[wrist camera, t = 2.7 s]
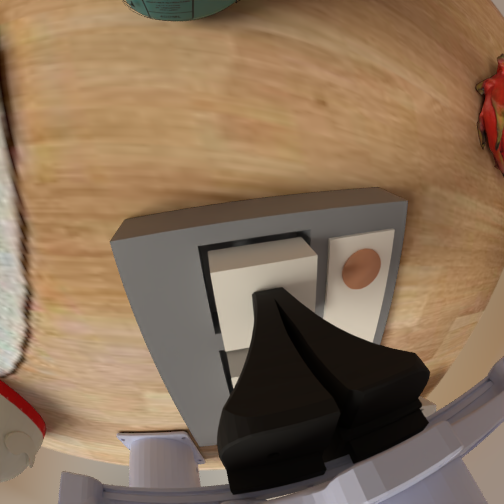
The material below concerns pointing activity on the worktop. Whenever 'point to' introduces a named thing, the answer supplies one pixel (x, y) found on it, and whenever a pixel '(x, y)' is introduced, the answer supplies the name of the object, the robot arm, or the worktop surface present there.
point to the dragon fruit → (493, 114)
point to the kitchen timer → (18, 433)
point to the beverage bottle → (178, 8)
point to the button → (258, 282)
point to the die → (427, 407)
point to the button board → (245, 233)
